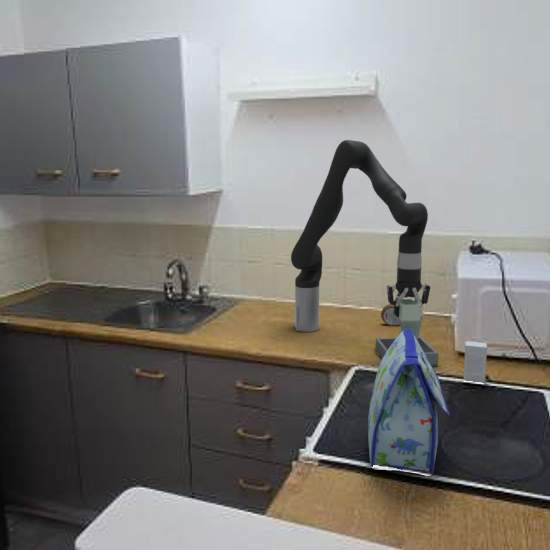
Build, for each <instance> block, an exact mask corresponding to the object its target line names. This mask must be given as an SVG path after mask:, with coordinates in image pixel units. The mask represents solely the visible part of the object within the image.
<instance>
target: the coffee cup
mask: <svg viewBox="0 0 550 550" xmlns="http://www.w3.org/2000/svg"><path fill="white" fill-rule="evenodd" d="M423 316H424V312H423V309H422V308H421V316H420V323H406V324H402V323H401V322H400V324H401V326H400V332H401V331H402V330H405V329H409V330H410V331H411V332H412V333H414V334H415V337H420V333H421V329H422V328H421V326H422V323H423V322H422V321H423Z"/></svg>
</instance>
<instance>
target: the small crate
mask: <svg viewBox="0 0 550 550" xmlns="http://www.w3.org/2000/svg"><path fill="white" fill-rule="evenodd" d="M399 307H400V309H399V317H396V316H395V317H396V318H397V319H398V320H399V321H400V322H401V323H402V324H406V323H420V316H421V309H422V306H421V304H419V303H418V302H417V301H415V299H414V297H408V298H403V300H402V301H401V303H400V305H399Z"/></svg>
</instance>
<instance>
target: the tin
mask: <svg viewBox="0 0 550 550" xmlns="http://www.w3.org/2000/svg"><path fill="white" fill-rule="evenodd" d="M380 317H381V319H382V321H383V323H384V324H385V325H388V326H392V327H394V326H395V327H401V324H400V321H399V320H398V319H397V318H396V317H395V315H394V305H391V304H390V303H389V304H387V305H385V306H384V307H383V308H382V309H381V313H380Z"/></svg>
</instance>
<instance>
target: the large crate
mask: <svg viewBox="0 0 550 550" xmlns="http://www.w3.org/2000/svg"><path fill="white" fill-rule="evenodd" d="M396 338H397V337H380V338H375V353H376V354H377V353H378V354H379V355H378V356H379V358H380V357H381V358H382V359H383V357H384V355H385V353H386V351H387V350H388V348H389V347H390V346H391V344H392V343H393V342H394V340H395V339H396ZM416 339H417V341H418V343H419V344H420V346H421V348H422V350H423V352H424V353H425V355H426V357H427V359H428V361H429V363H430V365H431V366H432V368H434V367H435V366H436V367H439V352H438V351H437V350H436V349H435V347H433V346H431V345H430V343H429V342H428V341H427V340H426V339H425V338H424V337H422V336H419V337H416ZM381 358H380V359H381ZM382 359H381V360H382ZM436 367H435V368H436Z"/></svg>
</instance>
